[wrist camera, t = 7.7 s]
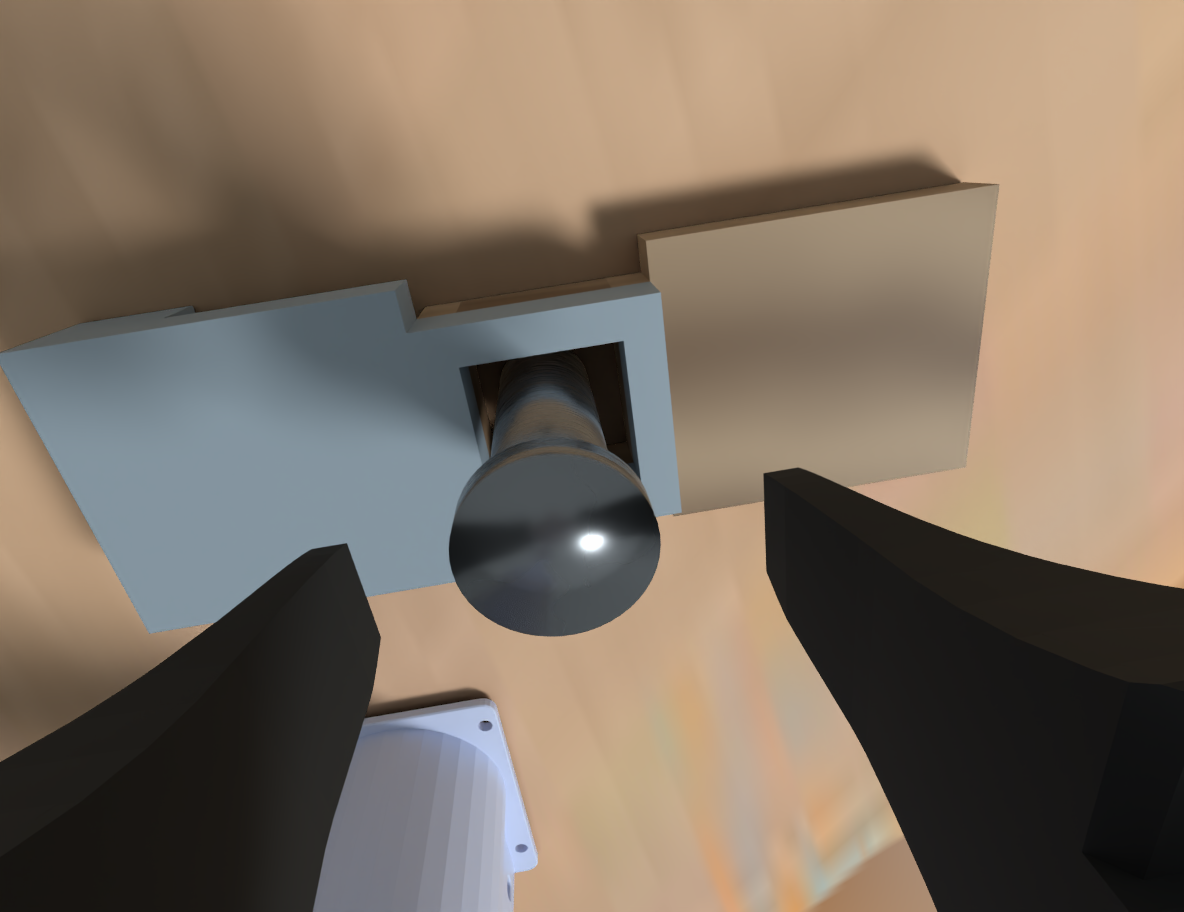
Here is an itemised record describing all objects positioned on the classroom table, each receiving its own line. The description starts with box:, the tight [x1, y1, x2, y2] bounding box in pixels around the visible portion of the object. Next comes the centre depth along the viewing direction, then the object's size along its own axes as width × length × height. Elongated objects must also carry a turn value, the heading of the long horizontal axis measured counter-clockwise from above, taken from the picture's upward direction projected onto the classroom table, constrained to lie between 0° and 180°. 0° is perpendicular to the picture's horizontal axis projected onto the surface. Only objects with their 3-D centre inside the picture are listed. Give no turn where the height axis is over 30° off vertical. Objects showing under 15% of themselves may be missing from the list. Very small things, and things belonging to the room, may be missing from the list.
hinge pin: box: [449, 350, 661, 636], centre depth 15 cm, size 4×4×9 cm
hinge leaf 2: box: [417, 182, 999, 516], centre depth 18 cm, size 8×15×2 cm, turn 98°
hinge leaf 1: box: [0, 279, 682, 634], centre depth 18 cm, size 8×15×3 cm, turn 98°
